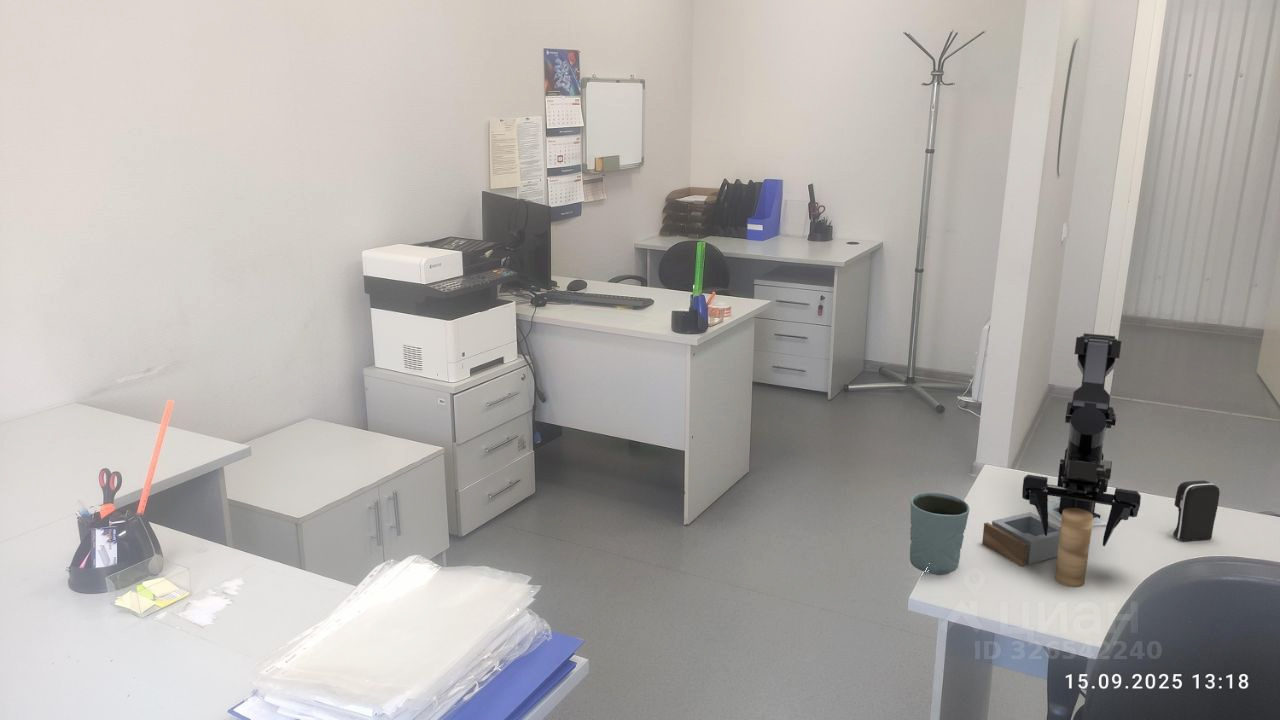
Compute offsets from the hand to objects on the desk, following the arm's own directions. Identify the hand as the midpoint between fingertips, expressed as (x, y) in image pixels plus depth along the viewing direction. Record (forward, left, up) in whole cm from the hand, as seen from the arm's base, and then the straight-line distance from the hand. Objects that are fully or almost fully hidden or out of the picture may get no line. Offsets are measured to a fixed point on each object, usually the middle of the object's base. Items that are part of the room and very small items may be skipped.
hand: (1074, 539), depth 155 cm
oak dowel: (0, 0, -8) cm, 8 cm away
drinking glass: (+17, -15, -8) cm, 24 cm away
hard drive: (-22, -19, -9) cm, 31 cm away
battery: (-35, -3, -8) cm, 36 cm away
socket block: (-3, -12, -8) cm, 15 cm away
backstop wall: (+4, -12, -8) cm, 15 cm away
